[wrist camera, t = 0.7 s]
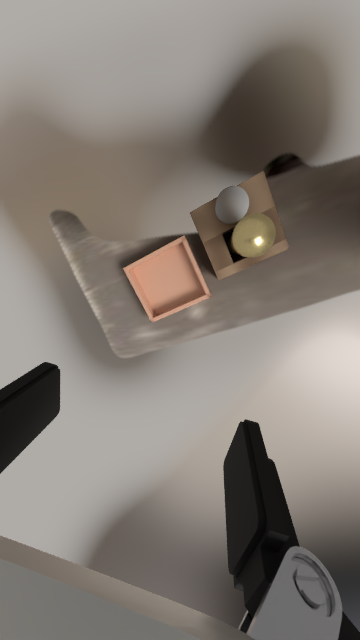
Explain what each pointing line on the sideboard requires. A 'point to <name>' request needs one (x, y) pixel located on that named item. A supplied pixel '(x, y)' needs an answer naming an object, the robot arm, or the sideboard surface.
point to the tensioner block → (227, 214)
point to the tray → (168, 279)
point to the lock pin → (252, 235)
